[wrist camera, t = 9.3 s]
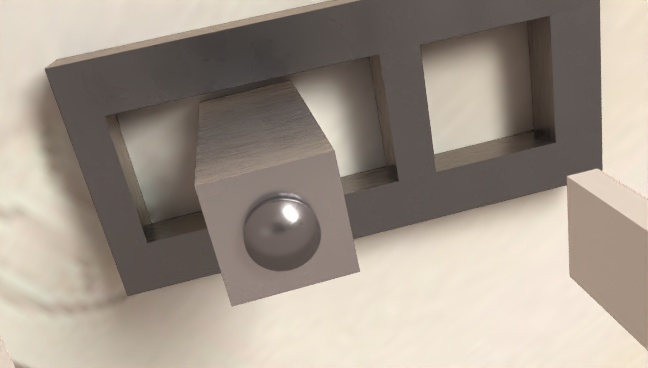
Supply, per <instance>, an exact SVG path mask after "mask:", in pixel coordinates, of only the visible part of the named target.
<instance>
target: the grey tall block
mask: <svg viewBox="0 0 648 368" xmlns="http://www.w3.org/2000/svg"><path fill="white" fill-rule="evenodd" d="M194 187H195V190H196V193H197V196H198V199H199V203H200V206H201V209H202V212H203V215H204V219H205V222H206V225H207V228H208V231H209V235H210V238H211V241H212V244H213V248H214V251H215V254H216V257H217V260H218V264H219V267H220V270H221V273H222V276H223V280H224V283H225V286H226V289H227V292H228V296H229V299H230V302H231V305H232V306H236V305H239V304H243V303H247V302H250V301H254V300H258V299H261V298H265V297H269V296H272V295H276V294H280V293H283V292H287V291H291V290H294V289H298V288H302V287H305V286H309V285H313V284H316V283H320V282H324V281H327V280H331V279H335V278H338V277H342V276H346V275H349V274H353V273H357V272H360V269H359V265H358V260H357V255H356V250H355V246H354V241H353V236H352V231H351V227H350V222H349V217H348V212H347V207H346V203H345V198H344V193H343V188H342V184H341V179H340V174H339V169H338V165H337V160H336V155H335V151H334V149H333V147H332V146H331V144H330V142H329V141H328V139H327V138H326V136H325V134H324V133H323V131H322V129H321V128H320V126H319V125H318V123H317V121H316V120H315V118H314V117H313V115H312V113H311V112H310V110H309V108H308V107H307V105H306V104H305V102H304V100H303V99H302V97H301V95H300V94H299V92H298V91H297V89H296V87H295V86H294V84H293V83H292V81H291V80H290V81H286V82H282V83H278V84H274V85H270V86H266V87H261V88H257V89H253V90H249V91H245V92H241V93H237V94H233V95H229V96H224V97H220V98H216V99H212V100H208V101H204V102H200V105H199V121H198V137H197V153H196V169H195V185H194Z"/></svg>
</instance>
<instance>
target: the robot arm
mask: <svg viewBox="0 0 648 368" xmlns="http://www.w3.org/2000/svg"><path fill="white" fill-rule="evenodd" d="M567 200H568V235H569V270H570V277H571V278H572V279H573V280H574V281H575V282H576V283H577V284H578V285H579V286H581V287H582V288H583V289H584V290H585V291H586V292H587V293H588V294H589V295H590V296H591V297H592V298H593V299H594V300H595V301H596V302H597V303H598V304H599V305H600V306H602V307H603V308H604V309H605V310H606V311H607V312H608V313H609V314H610V315H611V316H612V317H613V318H614V319H615V320H616V321H617V322H618V323H619V324H620V325H621V326H623V327H624V328H625V329H626V330H627V331H628V332H629V333H630V334H631V335H632V336H633V337H634V338H635V339H636V340H637V341H638V342H639V343H640V344H641V345H642V346H644V347H645V348H646V349H647V350H648V199H647V198H646V197H644V196H642V195H641V194H639V193H637V192H636V191H634V190H632V189H631V188H629V187H627V186H626V185H624V184H622V183H621V182H619V181H617V180H616V179H614V178H613V177H611V176H609V175H608V174H606V173H604V172H603V171H601V170H599V169H594V170H589V171H585V172H581V173H577V174H573V175H569V176H567ZM0 368H15V366H14V364H13V362H12V360H11V358H10V356H9V354H8V352H7V349H6V347H5V345H4V343H3V341H2V339H1V337H0Z"/></svg>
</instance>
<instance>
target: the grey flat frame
mask: <svg viewBox="0 0 648 368" xmlns="http://www.w3.org/2000/svg"><path fill="white" fill-rule="evenodd" d="M524 21H528V35H529V52H530V69H531V85H532V102H533V119H534V131H530V132H525V133H521V134H517V135H513V136H509V137H505V138H501V139H497V140H493V141H488V142H484V143H480V144H476V145H472V146H468V147H464V148H460V149H456V150H451V151H447V152H443V153H439V154H435V155H434V151H433V143H432V135H431V127H430V120H429V112H428V104H427V96H426V88H425V80H424V72H423V65H422V57H421V49H420V45H422V44H426V43H431V42H435V41H439V40H444V39H448V38H453V37H457V36H462V35H466V34H470V33H475V32H479V31H484V30H488V29H493V28H497V27H501V26H506V25H510V24H515V23H519V22H524ZM364 57H369V58H370V65H371V71H372V77H373V83H374V90H375V96H376V102H377V108H378V115H379V121H380V127H381V133H382V140H383V146H384V152H385V158H386V165H387V166H386V167H382V168H377V169H373V170H369V171H365V172H361V173H357V174H353V175H349V176H345V177H340V179H341V184H342V188H343V193H344V198H345V203H346V207H347V212H348V217H349V222H350V227H351V231H352V236H353V239H355V238H359V237H363V236H367V235H371V234H375V233H379V232H383V231H387V230H391V229H395V228H399V227H403V226H407V225H411V224H415V223H419V222H423V221H427V220H431V219H435V218H439V217H442V216H446V215H450V214H454V213H458V212H462V211H466V210H470V209H474V208H478V207H482V206H486V205H490V204H494V203H498V202H502V201H506V200H510V199H514V198H518V197H522V196H526V195H529V194H533V193H537V192H541V191H545V190H549V189H553V188H557V187H561V186H565V185H567V176H569V175H573V174H577V173H581V172H585V171H589V170H594V169H599V170H601V171H602V113H601V48H600V0H331V1H326V2H321V3H317V4H312V5H308V6H303V7H298V8H294V9H289V10H284V11H280V12H275V13H271V14H266V15H261V16H257V17H252V18H247V19H243V20H238V21H234V22H229V23H224V24H220V25H215V26H210V27H206V28H201V29H197V30H192V31H187V32H183V33H178V34H173V35H169V36H164V37H160V38H155V39H150V40H146V41H141V42H136V43H132V44H127V45H123V46H118V47H113V48H109V49H104V50H99V51H95V52H90V53H86V54H81V55H76V56H72V57H67V58H62V59H58V60H56V61H54V62H53V63H52V64H50V65H49V66H48V67H46V68H45V71H46V74H47V77H48V79H49V82H50V85H51V88H52V90H53V93H54V96H55V99H56V101H57V104H58V107H59V109H60V112H61V115H62V118H63V120H64V123H65V126H66V129H67V131H68V134H69V137H70V140H71V142H72V145H73V148H74V150H75V153H76V156H77V159H78V161H79V164H80V167H81V170H82V172H83V175H84V178H85V181H86V183H87V186H88V189H89V191H90V194H91V197H92V200H93V202H94V205H95V208H96V211H97V213H98V216H99V219H100V222H101V224H102V227H103V230H104V233H105V235H106V238H107V241H108V243H109V246H110V249H111V252H112V254H113V257H114V260H115V263H116V265H117V268H118V271H119V274H120V276H121V279H122V282H123V284H124V287H125V290H126V293H127V295H128V296H130V295H134V294H138V293H142V292H146V291H150V290H154V289H158V288H162V287H166V286H170V285H174V284H178V283H182V282H185V281H189V280H193V279H197V278H201V277H205V276H209V275H213V274H217V273H221V270H220V267H219V264H218V260H217V257H216V254H215V251H214V248H213V244H212V241H211V238H210V235H209V231H208V228H207V225H206V222H205V219H204V215H203V212H202V211H201V212H196V213H192V214H188V215H184V216H180V217H176V218H172V219H168V220H164V221H159V222H155V223H151V220H150V217H149V214H148V211H147V208H146V205H145V202H144V199H143V196H142V193H141V190H140V187H139V184H138V181H137V178H136V175H135V172H134V169H133V166H132V163H131V160H130V157H129V154H128V151H127V148H126V145H125V142H124V139H123V136H122V133H121V130H120V127H119V124H118V121H117V118H116V115H115V114H116V113H121V112H125V111H130V110H134V109H138V108H143V107H147V106H152V105H156V104H161V103H165V102H169V101H174V100H178V99H183V98H187V97H192V96H196V95H200V94H205V93H209V92H214V91H218V90H223V89H227V88H231V87H236V86H240V85H245V84H249V83H254V82H258V81H262V80H267V79H271V78H276V77H280V76H284V75H289V74H293V73H298V72H302V71H307V70H311V69H315V68H320V67H324V66H329V65H333V64H338V63H342V62H346V61H351V60H355V59H360V58H364Z"/></svg>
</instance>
